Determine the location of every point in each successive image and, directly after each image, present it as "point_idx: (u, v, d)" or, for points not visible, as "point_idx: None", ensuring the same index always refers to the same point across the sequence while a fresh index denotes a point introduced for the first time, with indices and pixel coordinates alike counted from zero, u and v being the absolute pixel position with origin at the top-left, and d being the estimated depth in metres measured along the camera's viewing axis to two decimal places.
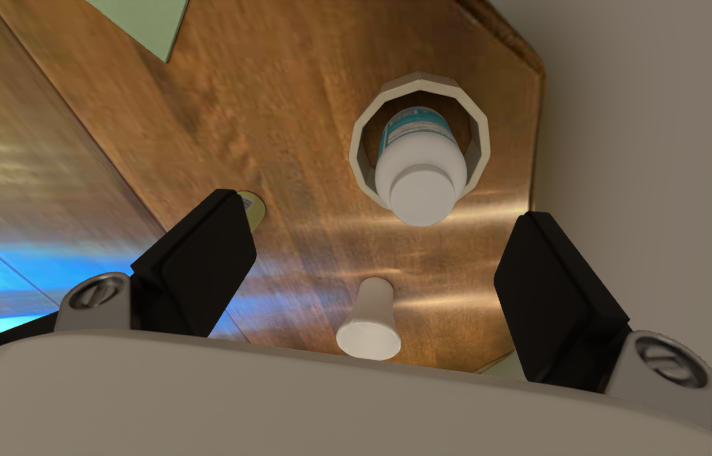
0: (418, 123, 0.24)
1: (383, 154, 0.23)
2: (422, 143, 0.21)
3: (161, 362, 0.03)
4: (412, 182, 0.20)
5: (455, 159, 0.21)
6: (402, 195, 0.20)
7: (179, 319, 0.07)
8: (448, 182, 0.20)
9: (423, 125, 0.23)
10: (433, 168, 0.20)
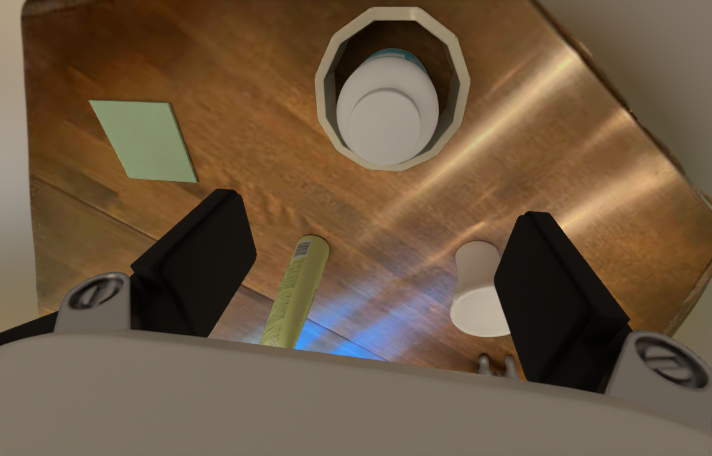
0: None
1: (337, 121, 0.21)
2: (353, 81, 0.19)
3: (161, 362, 0.03)
4: (360, 121, 0.18)
5: (394, 68, 0.18)
6: (363, 140, 0.18)
7: (180, 319, 0.07)
8: (389, 93, 0.17)
9: None
10: (368, 93, 0.17)
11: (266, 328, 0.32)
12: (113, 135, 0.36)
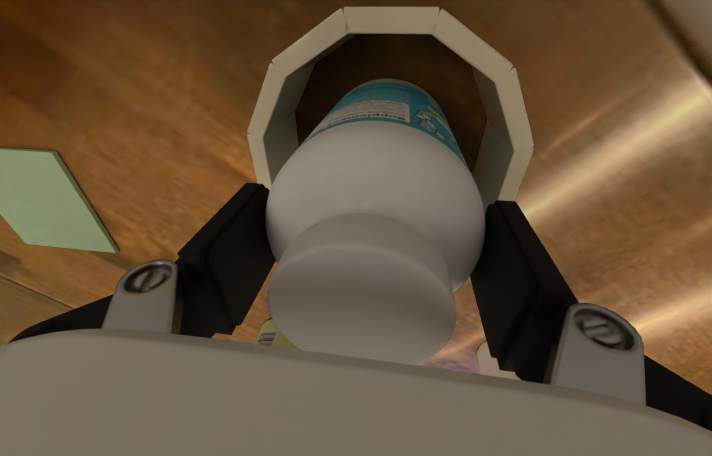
0: None
1: None
2: (289, 180, 0.08)
3: (161, 362, 0.03)
4: (295, 299, 0.07)
5: (384, 157, 0.07)
6: (308, 329, 0.08)
7: (218, 306, 0.08)
8: (368, 252, 0.06)
9: (313, 131, 0.10)
10: (313, 235, 0.06)
11: None
12: None
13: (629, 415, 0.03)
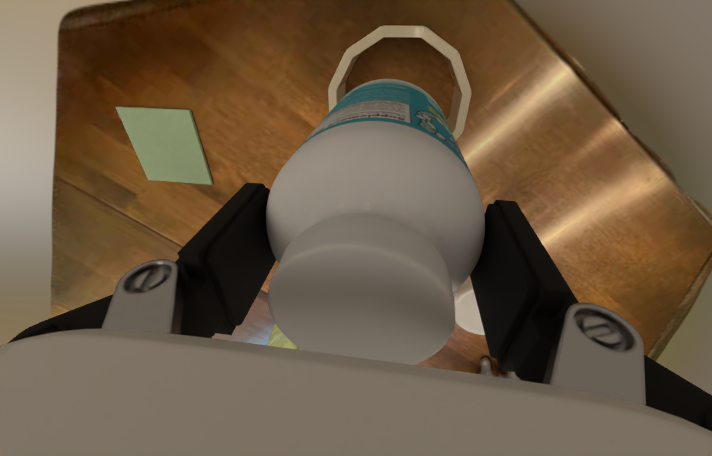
0: None
1: None
2: (290, 180, 0.08)
3: (161, 362, 0.03)
4: (295, 298, 0.07)
5: (384, 158, 0.07)
6: (308, 329, 0.08)
7: (218, 305, 0.08)
8: (368, 252, 0.06)
9: (313, 131, 0.10)
10: (314, 235, 0.06)
11: None
12: (136, 139, 0.38)
13: (630, 415, 0.03)
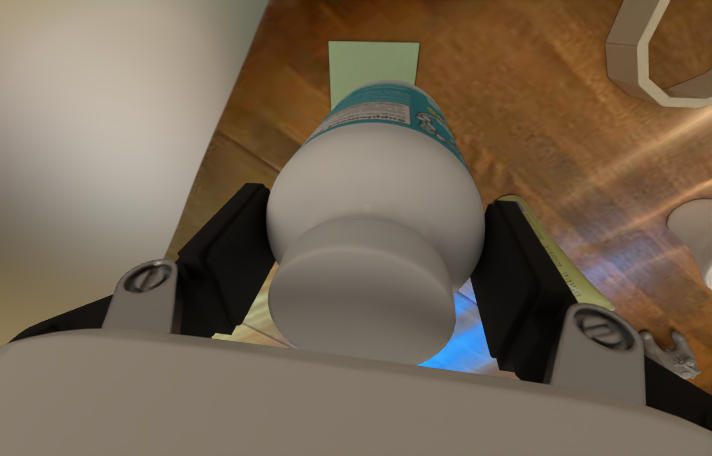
0: (311, 134, 0.11)
1: None
2: (290, 182, 0.08)
3: (161, 362, 0.03)
4: (295, 300, 0.07)
5: (384, 159, 0.07)
6: (308, 331, 0.08)
7: (218, 305, 0.08)
8: (369, 254, 0.06)
9: (313, 133, 0.10)
10: (314, 237, 0.06)
11: None
12: (337, 82, 0.34)
13: (629, 415, 0.03)
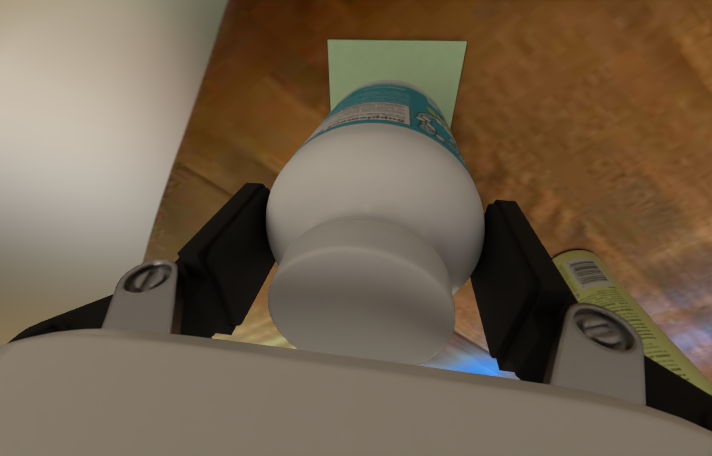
0: None
1: None
2: (290, 182, 0.08)
3: (161, 362, 0.03)
4: (295, 300, 0.07)
5: (384, 160, 0.07)
6: (308, 331, 0.08)
7: (218, 306, 0.08)
8: (368, 255, 0.06)
9: (313, 133, 0.10)
10: (313, 238, 0.06)
11: None
12: (341, 99, 0.23)
13: (629, 415, 0.03)
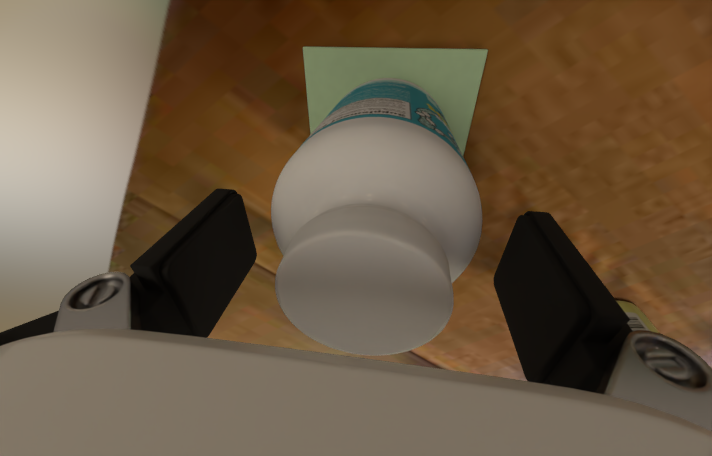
0: None
1: None
2: (295, 173, 0.08)
3: (161, 362, 0.03)
4: (301, 284, 0.07)
5: (385, 151, 0.08)
6: (313, 315, 0.08)
7: (179, 319, 0.07)
8: (371, 238, 0.06)
9: (317, 128, 0.11)
10: (319, 223, 0.07)
11: None
12: None
13: (629, 415, 0.03)
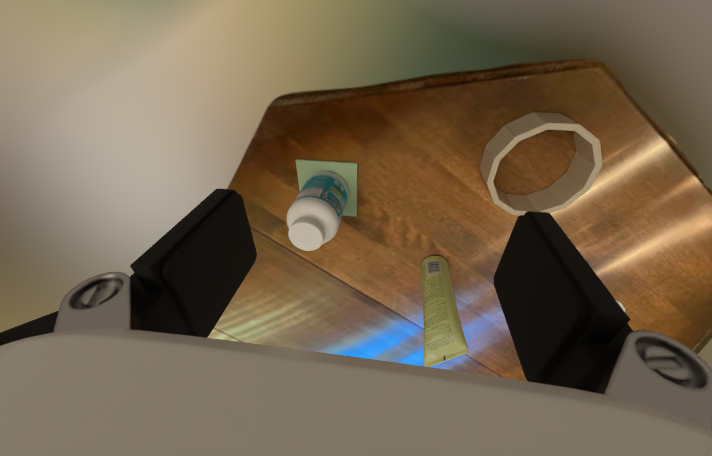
0: (298, 195, 0.41)
1: None
2: (292, 210, 0.38)
3: (161, 362, 0.03)
4: (293, 233, 0.37)
5: (310, 206, 0.38)
6: (296, 240, 0.38)
7: (180, 319, 0.07)
8: (305, 223, 0.36)
9: (298, 195, 0.41)
10: (297, 221, 0.37)
11: (430, 326, 0.44)
12: (303, 183, 0.48)
13: (629, 415, 0.03)
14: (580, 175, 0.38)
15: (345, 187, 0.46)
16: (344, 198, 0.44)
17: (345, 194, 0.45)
